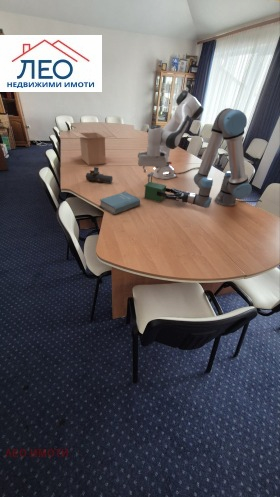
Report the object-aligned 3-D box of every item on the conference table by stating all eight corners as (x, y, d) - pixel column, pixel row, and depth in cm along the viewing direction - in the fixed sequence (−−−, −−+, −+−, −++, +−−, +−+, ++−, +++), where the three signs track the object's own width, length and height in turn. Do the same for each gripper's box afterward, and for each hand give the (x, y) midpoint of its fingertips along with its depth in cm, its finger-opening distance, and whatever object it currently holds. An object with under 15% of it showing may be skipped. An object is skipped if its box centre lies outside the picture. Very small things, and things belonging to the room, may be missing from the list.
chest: (144, 198, 167) (145, 186, 162) (149, 194, 174) (150, 182, 169) (160, 202, 163) (161, 190, 158) (164, 197, 170) (166, 186, 165)
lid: (144, 186, 162) (145, 174, 157) (149, 182, 169) (150, 170, 164) (161, 190, 158) (163, 178, 152) (166, 186, 165) (167, 174, 159)
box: (116, 165, 229) (116, 136, 213) (83, 168, 214) (80, 137, 198) (102, 154, 259) (101, 128, 243) (71, 156, 244) (68, 129, 228)
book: (125, 198, 165) (125, 191, 162) (140, 205, 156) (140, 199, 153) (100, 206, 151) (99, 199, 149) (115, 215, 143) (115, 207, 140)
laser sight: (109, 185, 184) (109, 173, 178) (84, 181, 187) (83, 169, 181) (113, 181, 192) (113, 169, 186) (88, 177, 195) (87, 166, 189)
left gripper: (138, 152, 147) (137, 173, 156) (168, 153, 150) (165, 174, 158) (137, 150, 152) (136, 170, 161) (166, 151, 155) (164, 171, 163)
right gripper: (183, 208, 151) (153, 200, 158) (191, 197, 167) (164, 191, 174) (185, 198, 146) (154, 190, 153) (193, 187, 163) (165, 181, 170)
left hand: (151, 172), depth 159 cm, fingers open, 8 cm apart
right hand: (159, 191), depth 164 cm, fingers closed on chest, 9 cm apart
